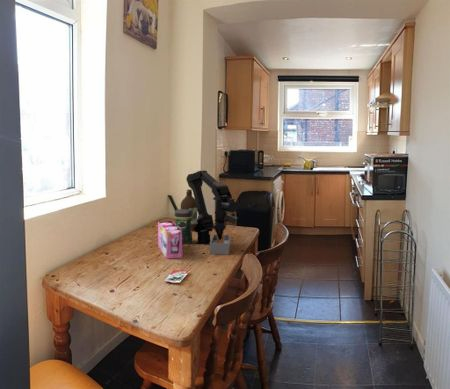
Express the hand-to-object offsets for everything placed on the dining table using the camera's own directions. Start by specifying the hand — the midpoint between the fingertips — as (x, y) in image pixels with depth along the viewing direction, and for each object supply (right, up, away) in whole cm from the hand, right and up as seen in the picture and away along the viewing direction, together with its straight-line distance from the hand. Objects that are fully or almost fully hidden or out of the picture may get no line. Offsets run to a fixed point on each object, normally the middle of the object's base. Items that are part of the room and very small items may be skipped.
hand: (220, 238), depth 221 cm
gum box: (-26, -6, -5) cm, 27 cm away
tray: (0, -6, +1) cm, 6 cm away
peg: (0, -3, 0) cm, 3 cm away
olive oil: (-20, +1, +42) cm, 46 cm away
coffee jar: (-21, -4, +13) cm, 25 cm away
